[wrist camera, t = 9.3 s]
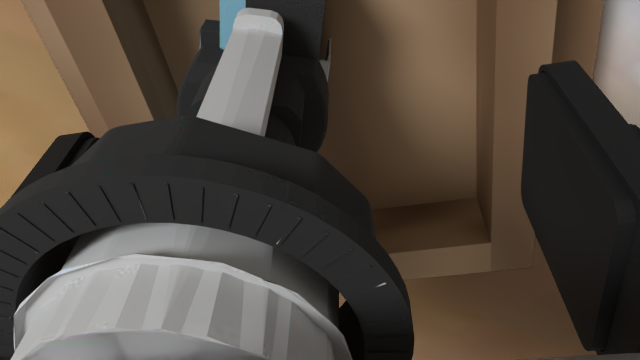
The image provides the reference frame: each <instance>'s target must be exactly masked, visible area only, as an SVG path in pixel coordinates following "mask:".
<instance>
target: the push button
mask: <svg viewBox="0 0 640 360" xmlns="http://www.w3.org/2000/svg"><path fill="white" fill-rule="evenodd" d="M325 9H326V0H220V21H217V20H209V19H206V20H205V21H204V22H203V24H202V26H201V28H200V30H199V36H200V49H199V51H198V52H197V54H196V55H195V57H194V59H193V61H192V63H191V65H190V67H189V69H188V71H187V73H186V75H185V77H184V78H183V81H182V83H181V86H180V88H179V92H178V97H177V115H178V116H177V117H171V118H165V119H159V120H153V121H147V122H141V123H135V124H129V125H123V126H118V127H115V128H112V129H110V130H108V131H107V132H106V133H105V134H104V135H103V136H102V137H101V138H100V139H99V140H98V141H97V142H96V143H94V144H93V145H92V146H91V147H90V148H89V149H88V150H87V151H86V152H85V153H84V154H83V155H82V156H81V157H80V158H79V159H78V160H77V161H76V162H75V163H73V164H72V165H71V166H69V167H67V168H64V169H62V170H59V171H56V172H54V173H51V174H49V175H46V176H44V177H43V178H41V179H39V180H37V181H35V182H33V183H32V184H30V185H28V186H26V187H25V188H24V189H22V190H21V191H20V192H18V193H17V194H15V195H14V196H13V197H11V198H10V199H9V200H8V201H7V202H6V203H5V204H4V205H3V206H2V207H1V208H0V360H412V356H413V350H414V332H413V323H412V315H411V307H410V300H409V297H408V293H407V289H406V286H405V283H404V281H403V279H402V277H401V275H400V273H399V270H398V268H397V267H396V265H395V264H394V262H393V261H392V259H391V258H390V256H389V255H388V253H387V252H386V251H385V250H384V248H383V247H382V246H381V245H380V244H379V242H378V241H377V238H376V233H375V228H374V223H373V217H372V212H371V207H370V203H369V201H368V200H367V198H366V197H365V196H364V195H363V194H362V193H361V192H360V191H359V190H358V189H357V188H356V187H355V186H354V185H353V184H352V183H351V182H349V181H348V180H347V179H346V178H345V177H344V176H343V175H342V174H341V173H340V172H339V171H338V170H337V169H336V168H335V167H334V166H332V165H331V164H330V163H329V162H328V161H327V160H326V159H325V158H324V157H323V156H321V155H320V154H318V153H317V152H318V150H319V149H320V147H321V145H322V143H323V141H324V138H325V135H326V131H327V125H328V102H329V90H328V75H329V68H330V61H331V60H330V58H331V38H328V43H327V51H326V59H325V60H321V59H320V50H321V42H322V34H323V25H324V17H325ZM78 235H80V237H79V239H78V241H77V242H76V244H75V246H74V248H73V249H72V246H71V242H70V239H71V238H73V237H76V236H78ZM339 292H340V293H341V294H342V295H343V297H344V298H345V299H346V301H345V303H344V304H343V305H342V306H341V307H340V308H339Z"/></svg>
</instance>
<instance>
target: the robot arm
mask: <svg viewBox="0 0 640 360" xmlns="http://www.w3.org/2000/svg"><path fill="white" fill-rule="evenodd" d="M99 139H100V138H98V137H96V138H95V136H94V135H93V134H91V133H89V132H82V133H75V134H68V135H62V136H59V137H57V138H56V139H55V141H54V142H53V143H52V145H51V146H50V147H49V148H48V150H47V151H46V152H45V154H44V155H43V156H42V158H41V159H40V160H39V161H38V163H37V164H36V165H35V167H34V168H33V169H32V171H31V172H30V173H29V174H28V176H27V177H26V178H25V180H24V181H23V182H22V184H21V185H20V186H19V188H18V189H17V190H16V191H15V193H14V194H13V195H12V197H13V196H14V195H15V194H17V193H18V192H20V191H21V190H22V189H24V188H25V187H26V186H28V185H30V184H32V183H33V182H35V181H37V180H39V179H41V178H43V177H44V176H46V175H49V174H51V173H54V172H56V171H59V170H62V169H64V168H67V167H69V166H71V165H72V164H73V163H75V162H76V161H77V160H78V159H79V158H80V157H81V156H82V155H83V154H84V153H85V152H86V151H87V150H88V149H89V148H90V147H91V146H92V145H93V144H94V143H96V142H97V141H98V140H99ZM521 198H522V203H523V206H524V209H525V211H526V214H527V216H528V218H529V221H530V223H531V225H532V228H533V230H534V232H535V235H536V237H537V239H538V242H539V244H540V246H541V249H542V251H543V254H544V256H545V258H546V261H547V263H548V265H549V268H550V270H551V272H552V275H553V277H554V279H555V282H556V284H557V287H558V289H559V291H560V294H561V296H562V298H563V301H564V303H565V305H566V308H567V310H568V312H569V315H570V317H571V319H572V322H573V324H574V327H575V329H576V331H577V334H578V336H579V338H580V341H581V343H582V345H583V347H584V348H585V349H586V350H587V351H594V350H596V352H597V354H598V355H590V356H572V357H554V358H536V359H519V360H640V128H639V127H637V126H636V125H632V124H628V123H627V122H626V121H625V119H624V118H623V117H622V116H621V114H620V113H619V112H618V111H617V110H616V108H615V107H614V106H613V105H612V103H611V102H610V101H609V100H608V99H607V97H606V96H605V95H604V94H603V93H602V91H601V90H600V89H599V88H598V86H597V85H596V84H595V83H594V82H593V80H592V79H591V78H590V77H589V75H588V74H587V73H586V72H585V71H584V69H583V68H582V67H581V66H580V64H579V63H578V62H577V61H575V60H572V61H565V62H558V63H551V64H544V65H541V66H540V68H539V71H538V73H537V74H530V76H529V78H528V84H527V100H526V115H525V130H524V146H523V161H522V177H521ZM79 237H80V235H78V236H76V237H73V238H71V239H70V242H71V246H72V249H73V248H74V246H75V244H76V242H77V241H78V239H79Z"/></svg>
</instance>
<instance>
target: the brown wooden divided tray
mask: <svg viewBox="0 0 640 360" xmlns="http://www.w3.org/2000/svg"><path fill="white" fill-rule="evenodd" d="M21 2H22V4H23V5H24V7H25V9H26V11H27V13H28V15H29V17H30V19H31V21H32V23H33V24H34V26H35V28H36V30H37V32H38V34H39V36H40V38H41V40H42V42H43V43H44V45H45V47H46V49H47V51H48V53H49V55H50V57H51V59H52V61H53V62H54V64H55V66H56V68H57V70H58V72H59V74H60V76H61V78H62V80H63V81H64V83H65V85H66V87H67V89H68V91H69V93H70V95H71V97H72V99H73V100H74V102H75V104H76V106H77V108H78V110H79V112H80V114H81V116H82V118H83V119H84V121H85V123H86V125H87V127H88V129H89V131H90V133H91V134H93V135H94V136H95V138H96V137H98V138H101V137H102V136H103V135H104V134H105V133H106V132H107V131H108V130H110V129H112V128H115V127H118V126H123V125H129V124H135V123H141V122H147V121H153V120H159V119H165V118H171V117H177V116H178V115H177V97H178V92H179V88H180V86H181V83H182V81H183V78H184V77H185V75H186V73H187V71H188V69H189V67H190V65H191V63H192V61H193V59H194V57H195V55H196V54H197V52H198V51H199V49H200V36H199V30H200V28H201V26H202V24H203V22H204V21H205V20H206V19H209V20H217V21H220V0H21ZM603 7H604V0H326V9H325V17H324V25H323V34H322V42H321V50H320V59H321V60H325V59H326V51H327V43H328V38H331V58H330V60H331V61H330V68H329V75H328V90H329V102H328V125H327V131H326V135H325V138H324V141H323V143H322V145H321V147H320V149H319V150H318V152H317V153H318V154H320V155H321V156H323V157H324V158H325V159H326V160H327V161H328V162H329V163H330V164H331V165H332V166H334V167H335V168H336V169H337V170H338V171H339V172H340V173H341V174H342V175H343V176H344V177H345V178H346V179H347V180H348V181H349V182H351V183H352V184H353V185H354V186H355V187H356V188H357V189H358V190H359V191H360V192H361V193H362V194H363V195H364V196H365V197H366V198H367V200H368V201H369V203H370V207H371V212H372V217H373V223H374V228H375V233H376V238H377V241H378V242H379V244H380V245H381V246H382V247H383V248H384V250H385V251H386V252H387V253H388V255H389V256H390V258H391V259H392V261H393V262H394V264H395V265H396V267H397V268H398V270H399V273H400V275H401V277H402V279H403V280H411V279H421V278H431V277H441V276H451V275H461V274H471V273H481V272H491V271H501V270H511V269H521V268H532V267H533V257H534V246H535V232H534V230H533V228H532V225H531V223H530V221H529V218H528V216H527V214H526V211H525V209H524V206H523V203H522V198H521V177H522V161H523V146H524V130H525V115H526V100H527V84H528V78H529V76H530V74H537V73H538V71H539V68H540V66H541V65H544V64H551V63H558V62H565V61H572V60H575V61H577V62H578V63H579V64H580V66H581V67H582V68H583V69H584V71H585V72H586V73H587V74H588V75H589V77H590V78H591V79H592V80H593V74H594V68H595V61H596V54H597V47H598V41H599V34H600V27H601V20H602V13H603Z"/></svg>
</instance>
